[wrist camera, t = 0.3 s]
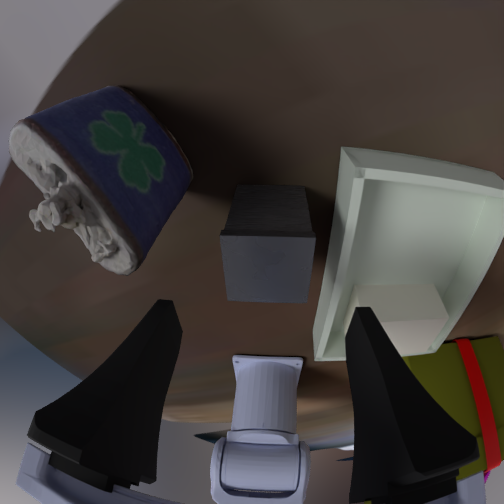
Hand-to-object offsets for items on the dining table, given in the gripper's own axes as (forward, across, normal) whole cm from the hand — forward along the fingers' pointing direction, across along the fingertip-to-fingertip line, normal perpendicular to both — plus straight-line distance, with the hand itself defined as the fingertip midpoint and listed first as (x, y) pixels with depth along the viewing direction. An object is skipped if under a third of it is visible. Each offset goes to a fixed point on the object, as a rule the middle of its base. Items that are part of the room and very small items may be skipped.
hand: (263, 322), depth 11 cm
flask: (+10, +8, -5) cm, 14 cm away
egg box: (+10, -11, +10) cm, 18 cm away
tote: (+10, -11, +5) cm, 16 cm away
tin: (+10, 0, +1) cm, 10 cm away
